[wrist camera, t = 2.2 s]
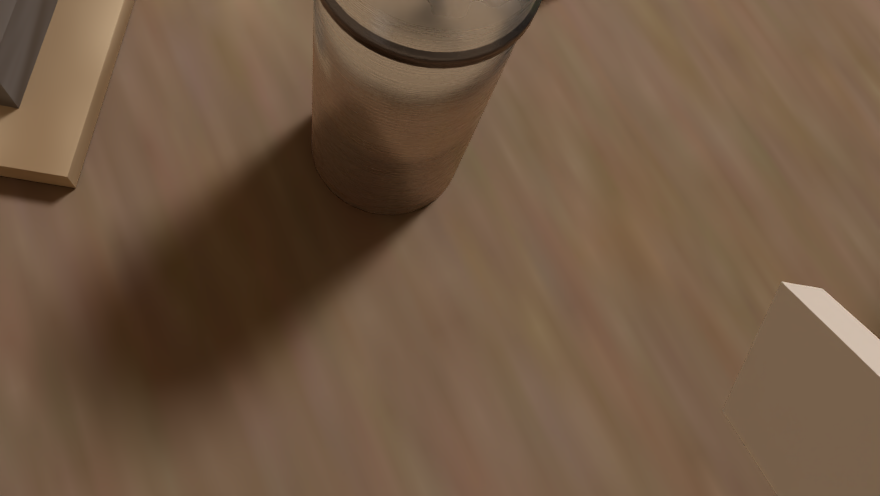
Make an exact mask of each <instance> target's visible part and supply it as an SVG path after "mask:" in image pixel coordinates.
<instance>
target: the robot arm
mask: <svg viewBox="0 0 880 496" xmlns="http://www.w3.org/2000/svg"><path fill="white" fill-rule="evenodd" d="M722 412H723V413H724V415H725V416H726V418H727V419H728V421H729V422H730V424H731V425H732V427H733V429H734V430H735V432H736V433H737V435H738V436H739V438H740V439H741V441H742V442H743V444H744V446H745V447H746V449H747V450H748V452H749V453H750V455H751V456H752V458H753V459H754V461H755V463H756V464H757V466H758V467H759V469H760V470H761V472H762V473H763V475H764V476H765V478H766V479H767V481H768V483H769V484H770V486H771V487H772V489H773V490H774V492H775V493H776V495H777V496H880V339H878V338H877V337H876V336H875V335H874V334H873V333H872V332H871V331H869V330H868V329H867V328H866V327H865V326H864V325H863V324H862V323H860V322H859V321H858V320H857V319H856V318H855V317H854V316H853V315H851V314H850V313H849V312H848V311H847V310H846V309H845V308H844V307H842V306H841V305H840V304H839V303H838V302H837V301H836V300H835V299H833V298H832V297H831V296H830V295H829V294H828V293H827V292H826V291H824V290H823V289H822V288H816V287H810V286H804V285H798V284H792V283H786V282H781V284H780V286H779V288H778V290H777V292H776V294H775V297H774V299H773V301H772V303H771V305H770V307H769V310H768V312H767V314H766V316H765V318H764V320H763V322H762V325H761V327H760V329H759V331H758V333H757V335H756V338H755V340H754V342H753V344H752V346H751V348H750V351H749V353H748V355H747V357H746V359H745V361H744V364H743V366H742V368H741V370H740V372H739V374H738V377H737V379H736V381H735V383H734V385H733V387H732V390H731V392H730V394H729V396H728V398H727V400H726V402H725V405H724V407H723V409H722Z"/></svg>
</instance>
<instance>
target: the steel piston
mask: <svg viewBox="0 0 880 496" xmlns="http://www.w3.org/2000/svg"><path fill="white" fill-rule="evenodd" d="M541 1H542V0H314V14H313V76H312V139H311V143H312V155H313V160H314V163H315V166H316V169H317V171H318V173H319V175H320V177H321V178H322V180H323V181H324V183H325V184H326V185H327V186H328V187H329V189H330V190H331V191H332V192H333V193H334V194H336V195H337V196H338V197H339V198H340V199H342V200H343V201H345V202H346V203H348V204H350V205H352V206H354V207H356V208H358V209H361V210H363V211H366V212H371V213H375V214H383V215H397V214H404V213H408V212H412V211H415V210H418V209H420V208H423V207H425V206H426V205H428V204H430V203H431V202H433V201H434V200H435V199H436V198H438V197H439V196H440V195H441V194H442V193H443V192H444V191H445V189H446V188H447V187H448V185H449V184H450V182H451V180H452V178H453V176H454V174H455V172H456V170H457V168H458V165H459V163H460V161H461V159H462V157H463V155H464V153H465V150H466V148H467V146H468V144H469V142H470V140H471V138H472V135H473V133H474V131H475V129H476V127H477V125H478V123H479V120H480V118H481V116H482V114H483V112H484V110H485V108H486V106H487V103H488V101H489V99H490V97H491V95H492V93H493V91H494V88H495V86H496V84H497V82H498V80H499V78H500V76H501V73H502V71H503V69H504V67H505V65H506V63H507V61H508V58H509V56H510V54H511V52H512V50H513V48H514V46H515V44H516V41H517V40H518V39H519V38H520V37H521V36H522V35H523V34H524V32H525V31H526V30H527V28H528V27H529V26H530V24H531V22H532V20H533V18H534V16H535V14H536V12H537V10H538V8H539V6H540V3H541Z"/></svg>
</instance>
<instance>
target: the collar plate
mask: <svg viewBox="0 0 880 496" xmlns="http://www.w3.org/2000/svg"><path fill="white" fill-rule="evenodd" d="M134 2H135V0H0V176H5V177H11V178H17V179H23V180H29V181H35V182H42V183H48V184H54V185H60V186H66V187H72V188H76V186H77V183H78V180H79V176H80V173H81V170H82V167H83V164H84V160H85V157H86V154H87V151H88V148H89V145H90V141H91V138H92V135H93V132H94V129H95V126H96V122H97V119H98V116H99V113H100V110H101V107H102V103H103V100H104V97H105V94H106V91H107V88H108V84H109V81H110V78H111V75H112V72H113V69H114V65H115V62H116V59H117V56H118V53H119V50H120V46H121V43H122V40H123V37H124V34H125V31H126V27H127V24H128V21H129V18H130V15H131V12H132V8H133V5H134Z"/></svg>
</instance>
